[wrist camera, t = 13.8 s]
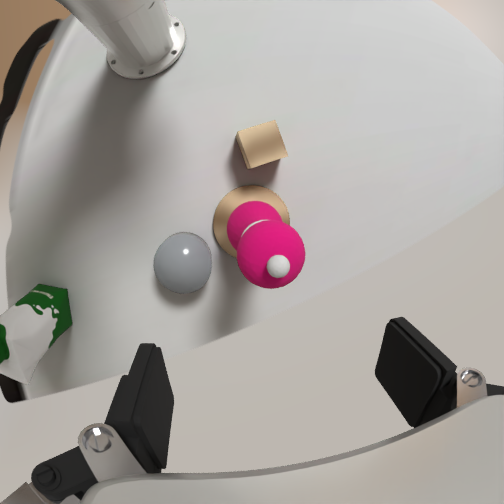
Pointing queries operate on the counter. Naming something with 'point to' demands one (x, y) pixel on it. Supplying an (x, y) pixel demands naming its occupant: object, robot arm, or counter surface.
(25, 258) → the counter surface
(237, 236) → the pepper mill
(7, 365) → the milk carton
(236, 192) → the cork trivet
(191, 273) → the grey rounded dome
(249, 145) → the oak block
